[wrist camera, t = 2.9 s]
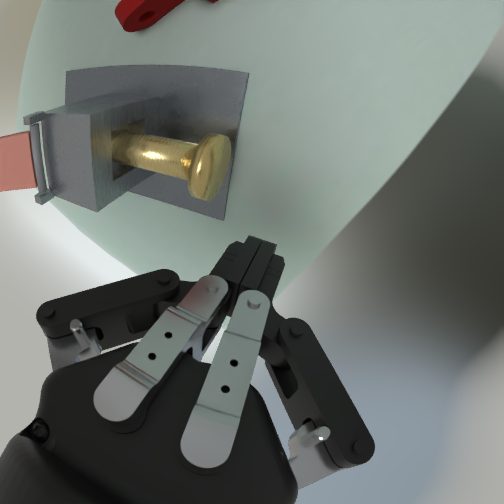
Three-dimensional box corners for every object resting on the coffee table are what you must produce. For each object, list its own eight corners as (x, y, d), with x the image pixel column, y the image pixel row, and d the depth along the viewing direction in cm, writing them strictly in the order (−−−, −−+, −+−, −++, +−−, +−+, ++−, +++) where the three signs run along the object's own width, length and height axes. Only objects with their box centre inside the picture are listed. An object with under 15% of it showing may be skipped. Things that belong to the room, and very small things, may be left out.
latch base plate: (67, 71, 24) (-5, 91, 15) (249, 73, 20) (178, 72, 11) (71, 173, 34) (12, 210, 25) (223, 219, 30) (169, 289, 21)
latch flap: (-20, 136, 15) (-25, 140, 14) (40, 122, 17) (35, 125, 17) (-9, 194, 19) (-13, 198, 19) (48, 187, 22) (44, 192, 21)
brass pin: (112, 111, 24) (74, 124, 19) (235, 130, 22) (206, 144, 18) (113, 157, 27) (78, 176, 23) (225, 186, 25) (199, 212, 21)
